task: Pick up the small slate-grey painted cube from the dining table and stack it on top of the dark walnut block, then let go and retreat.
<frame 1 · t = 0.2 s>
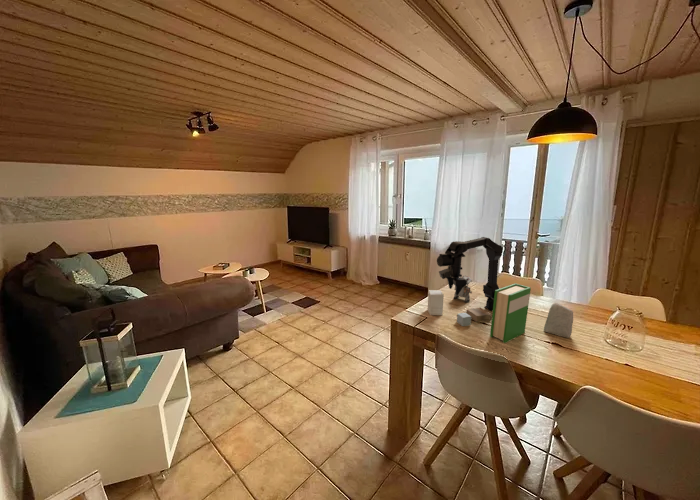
hand: (453, 291, 158), 14 cm above the table, fingers open, 9 cm apart
decorative stone: (556, 334, 140), on the table
slate cube: (463, 323, 152), on the table
hardback book: (507, 334, 140), on the table
walnut block: (478, 318, 158), on the table
supplement box: (434, 312, 165), on the table
figurine: (463, 299, 184), on the table
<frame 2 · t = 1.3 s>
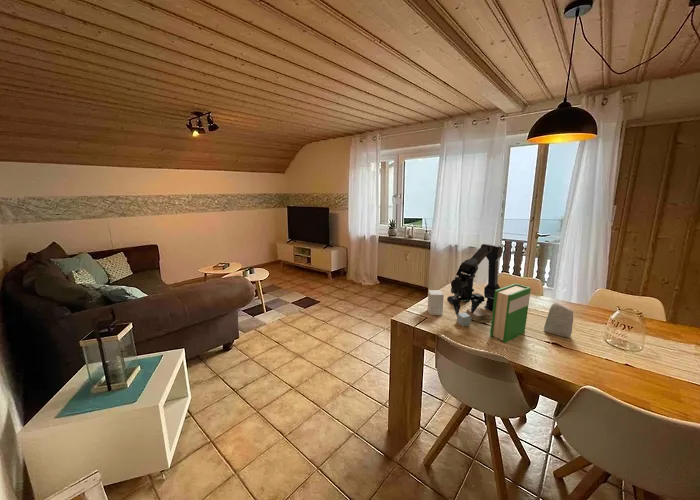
hand: (464, 313, 150), 6 cm above the table, fingers open, 9 cm apart
nothing on the table moved.
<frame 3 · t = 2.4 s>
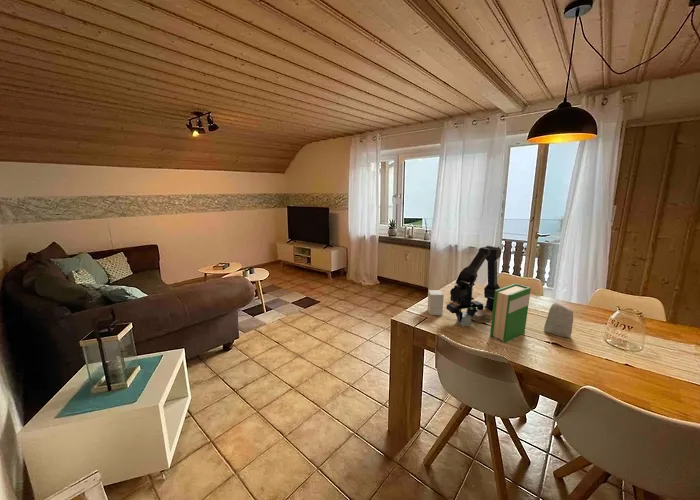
hand: (463, 321, 151), 1 cm above the table, fingers closed on slate cube, 5 cm apart
slate cube: (463, 323, 152), on the table, touching gripper
everything else where it was.
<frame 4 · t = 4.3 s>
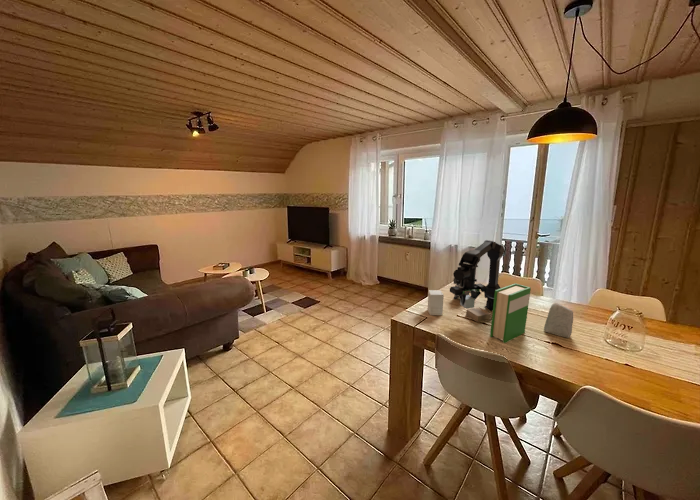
hand: (467, 304, 150), 11 cm above the table, fingers closed on slate cube, 5 cm apart
slate cube: (467, 306, 150), point 10 cm above the table, touching gripper
everything else where it was.
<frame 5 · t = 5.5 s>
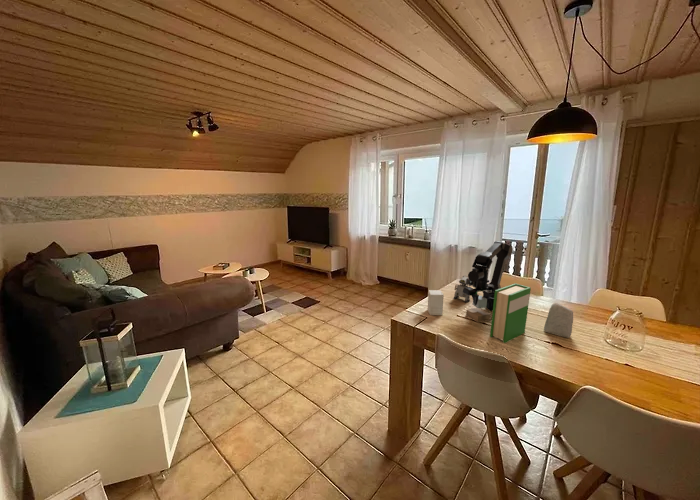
hand: (479, 304, 156), 8 cm above the table, fingers closed on slate cube, 5 cm apart
slate cube: (479, 306, 157), point 7 cm above the table, touching gripper
everything else where it was.
when the fingers open (5 cm above the table, at t = 6.4 s): slate cube stays where it is, point 4 cm above the table.
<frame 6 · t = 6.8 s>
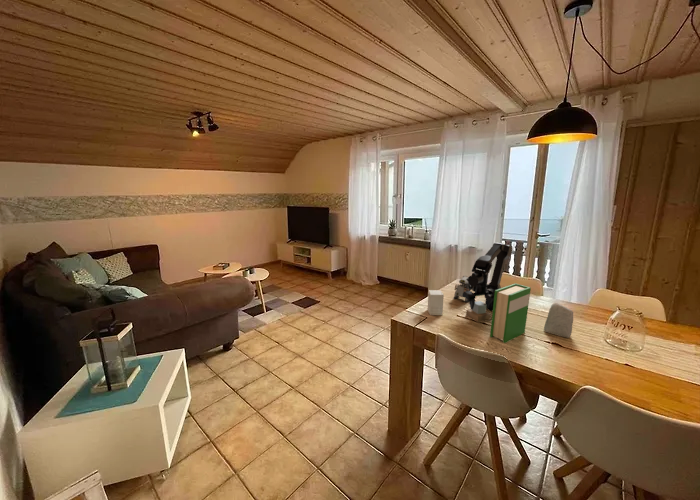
hand: (479, 308, 157), 6 cm above the table, fingers open, 9 cm apart
slate cube: (478, 311, 157), point 4 cm above the table
everything else where it was.
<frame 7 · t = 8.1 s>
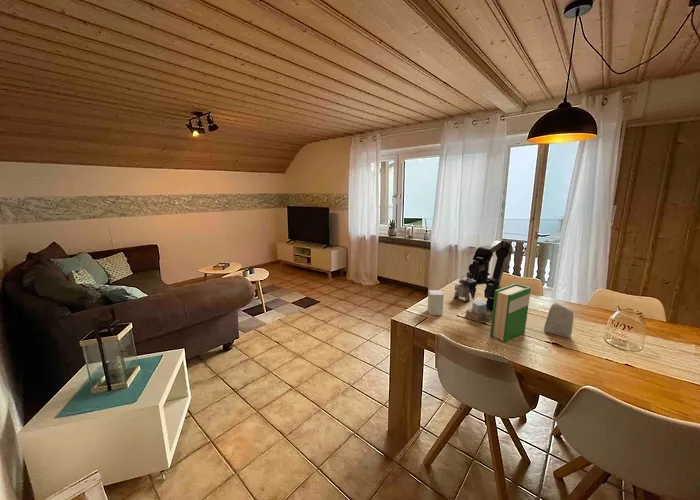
hand: (479, 297, 155), 12 cm above the table, fingers open, 9 cm apart
slate cube: (478, 311, 157), point 4 cm above the table, touching walnut block
walnut block: (477, 318, 158), on the table, touching slate cube
everything else where it was.
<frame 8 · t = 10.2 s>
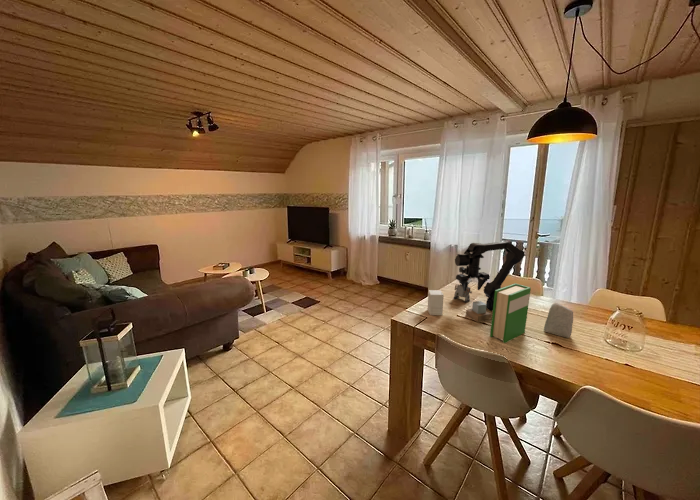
hand: (471, 290, 165), 12 cm above the table, fingers open, 9 cm apart
slate cube: (478, 311, 157), point 4 cm above the table
walnut block: (477, 318, 158), on the table
everything else where it was.
at the end: slate cube 0.2 cm off-centre on the walnut block, point 4.0 cm above the walnut block's base; slate cube tilted 0°; the gripper is holding nothing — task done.
